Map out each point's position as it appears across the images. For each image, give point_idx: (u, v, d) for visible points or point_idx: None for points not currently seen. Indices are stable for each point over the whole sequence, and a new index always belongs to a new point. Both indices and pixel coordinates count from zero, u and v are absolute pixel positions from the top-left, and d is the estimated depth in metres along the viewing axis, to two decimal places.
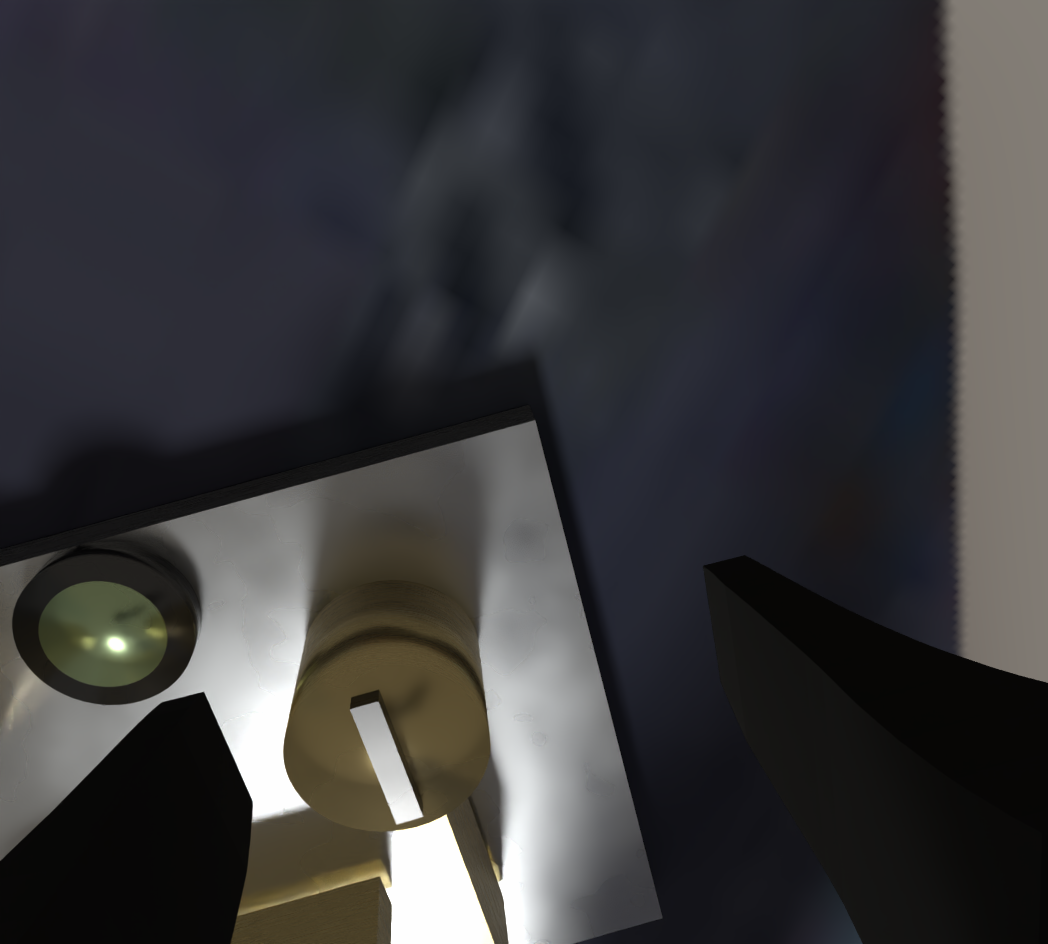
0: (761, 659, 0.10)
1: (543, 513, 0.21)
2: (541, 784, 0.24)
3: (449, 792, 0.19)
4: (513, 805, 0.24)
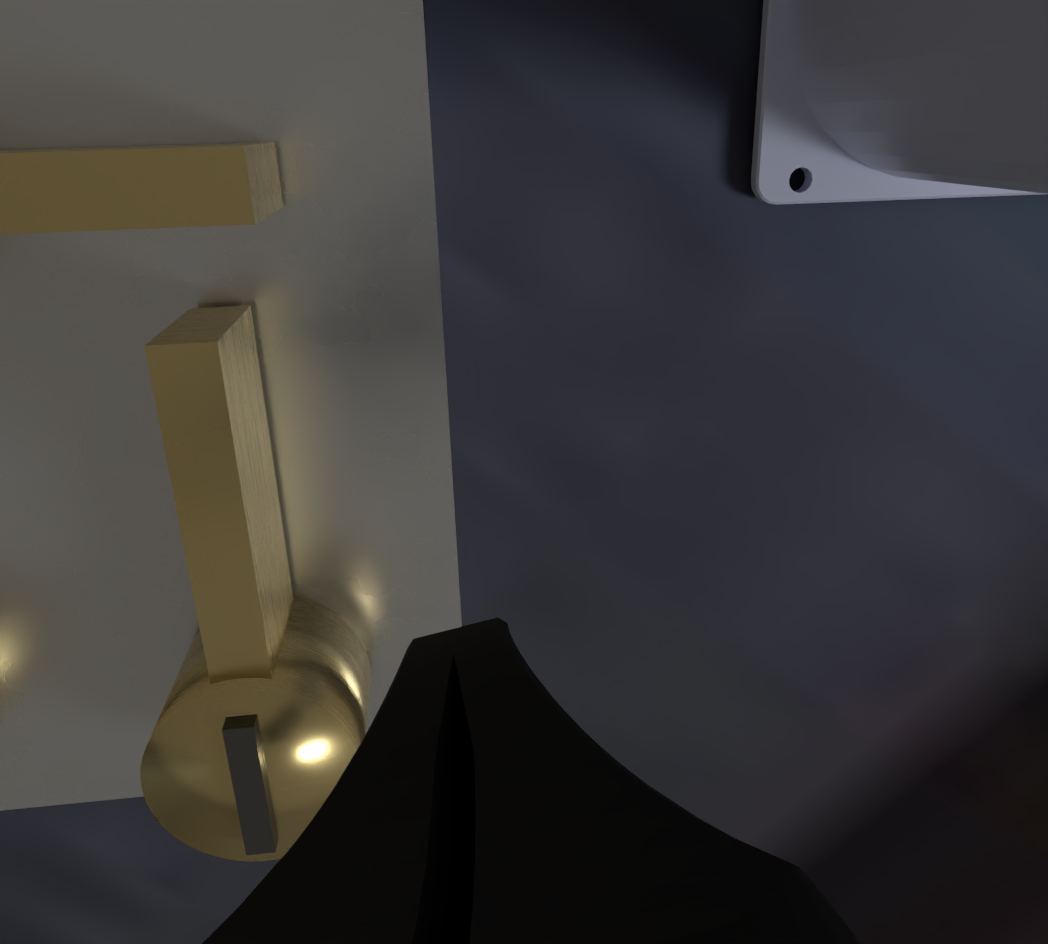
0: None
1: None
2: (70, 28, 0.16)
3: None
4: (107, 84, 0.16)
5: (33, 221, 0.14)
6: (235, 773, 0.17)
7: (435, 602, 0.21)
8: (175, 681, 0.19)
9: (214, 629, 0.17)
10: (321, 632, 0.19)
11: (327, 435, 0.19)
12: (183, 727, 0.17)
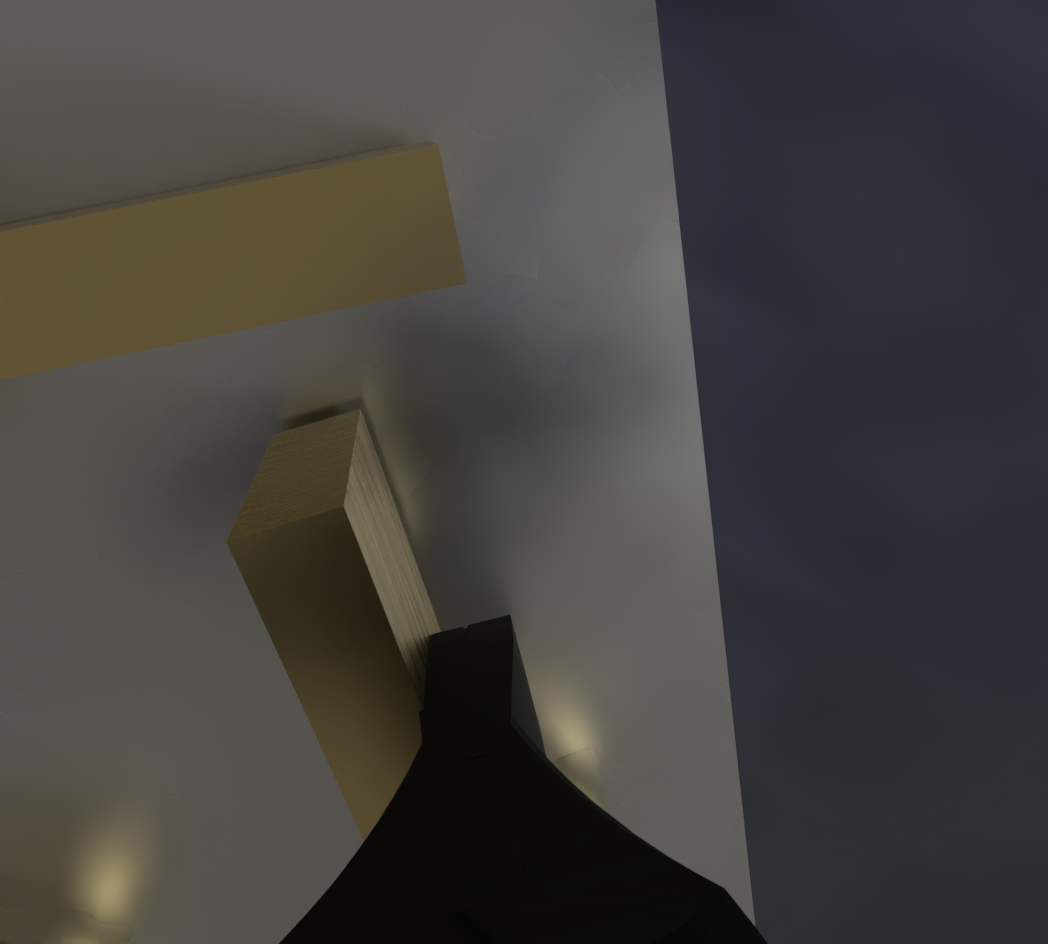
0: None
1: None
2: (88, 9, 0.10)
3: None
4: (157, 91, 0.10)
5: (84, 342, 0.08)
6: None
7: (702, 762, 0.15)
8: None
9: None
10: None
11: (537, 563, 0.13)
12: None
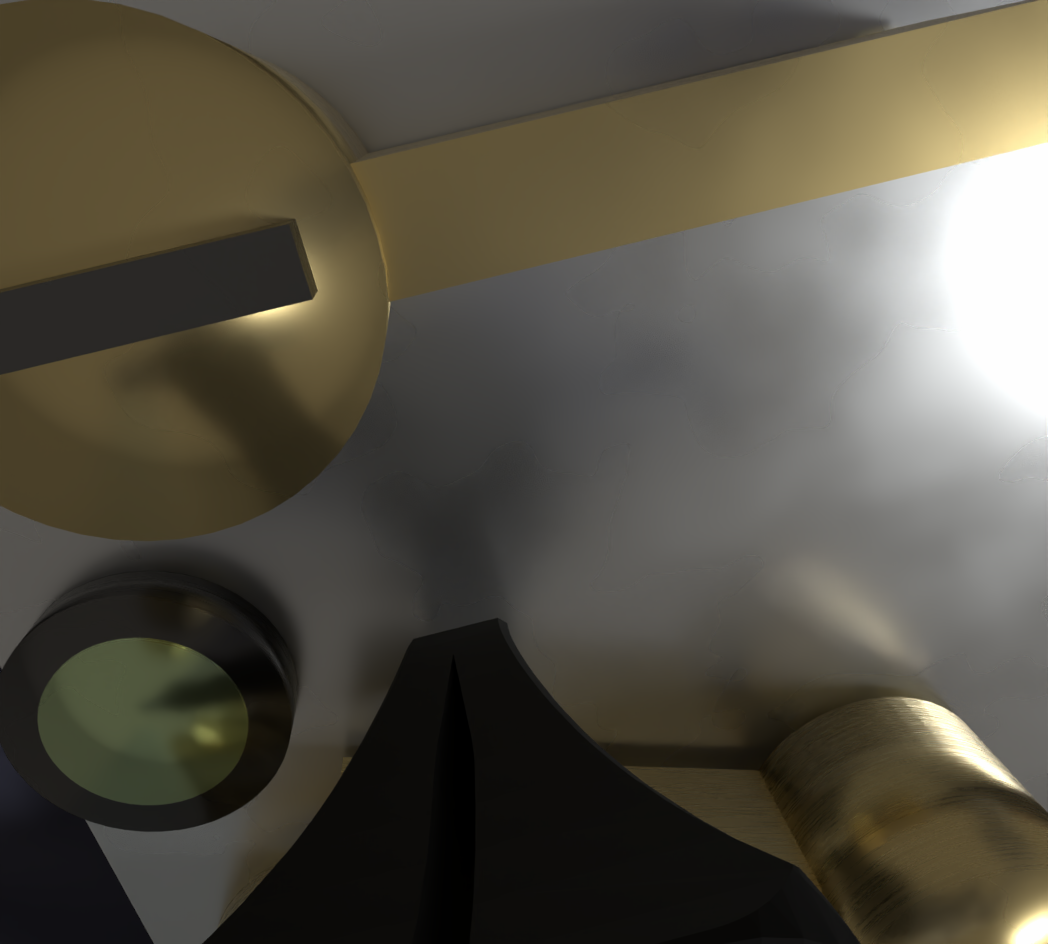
0: None
1: None
2: None
3: (257, 139, 0.07)
4: None
5: (758, 192, 0.08)
6: None
7: None
8: None
9: None
10: (815, 779, 0.13)
11: (943, 462, 0.13)
12: None
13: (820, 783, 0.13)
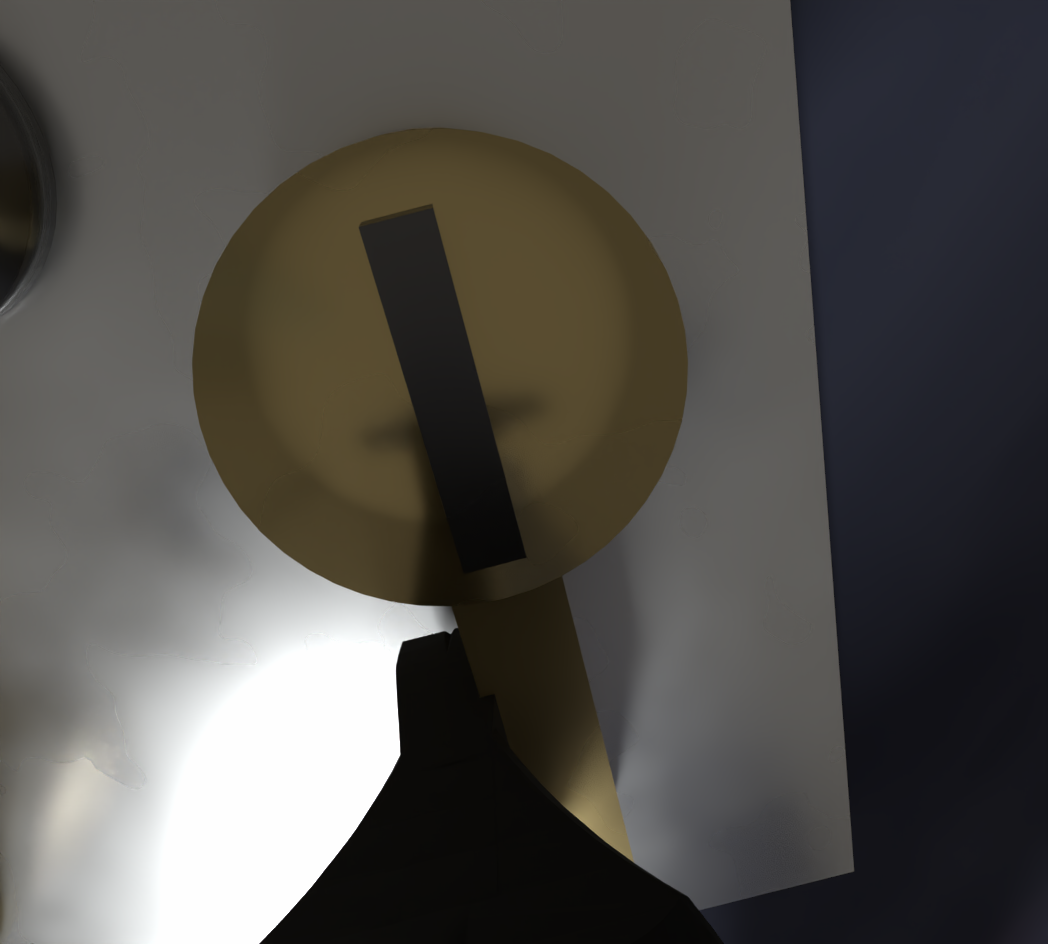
0: None
1: (761, 13, 0.10)
2: (686, 614, 0.14)
3: (583, 513, 0.08)
4: (633, 651, 0.14)
5: None
6: None
7: None
8: None
9: None
10: None
11: (256, 905, 0.15)
12: None
13: None
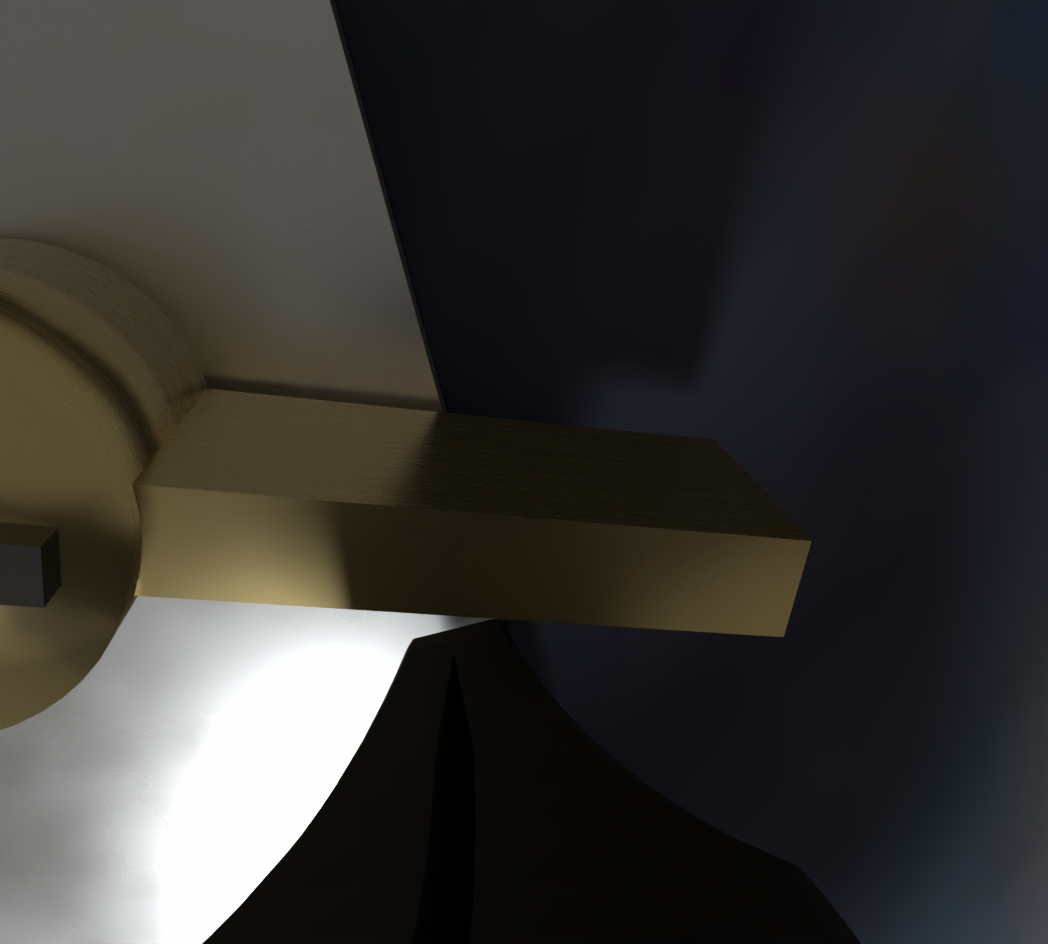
0: None
1: (329, 115, 0.10)
2: (362, 697, 0.13)
3: (43, 460, 0.07)
4: (313, 735, 0.14)
5: (483, 603, 0.09)
6: None
7: None
8: None
9: None
10: None
11: None
12: None
13: None
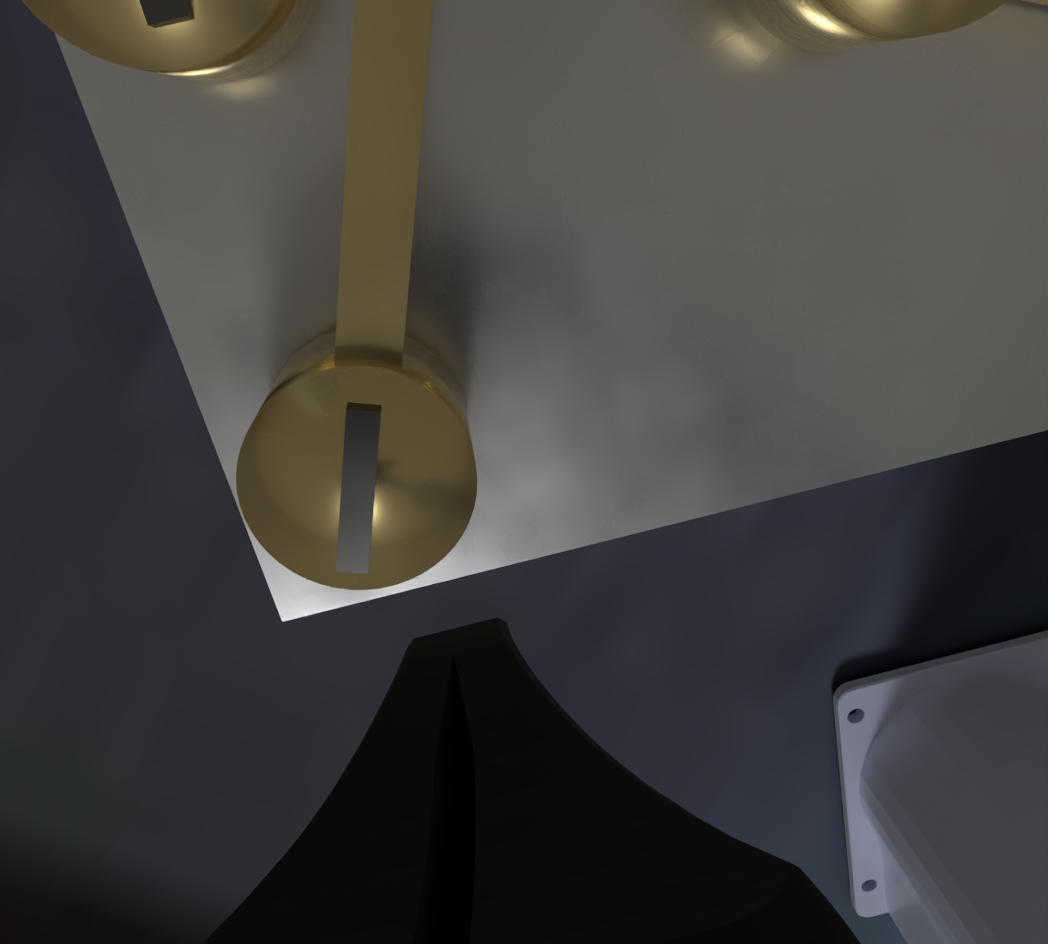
0: None
1: None
2: (963, 188, 0.19)
3: None
4: (923, 219, 0.19)
5: None
6: (348, 465, 0.15)
7: (474, 551, 0.21)
8: (276, 383, 0.17)
9: (353, 298, 0.15)
10: (435, 365, 0.18)
11: (636, 428, 0.20)
12: (299, 406, 0.15)
13: (438, 368, 0.18)
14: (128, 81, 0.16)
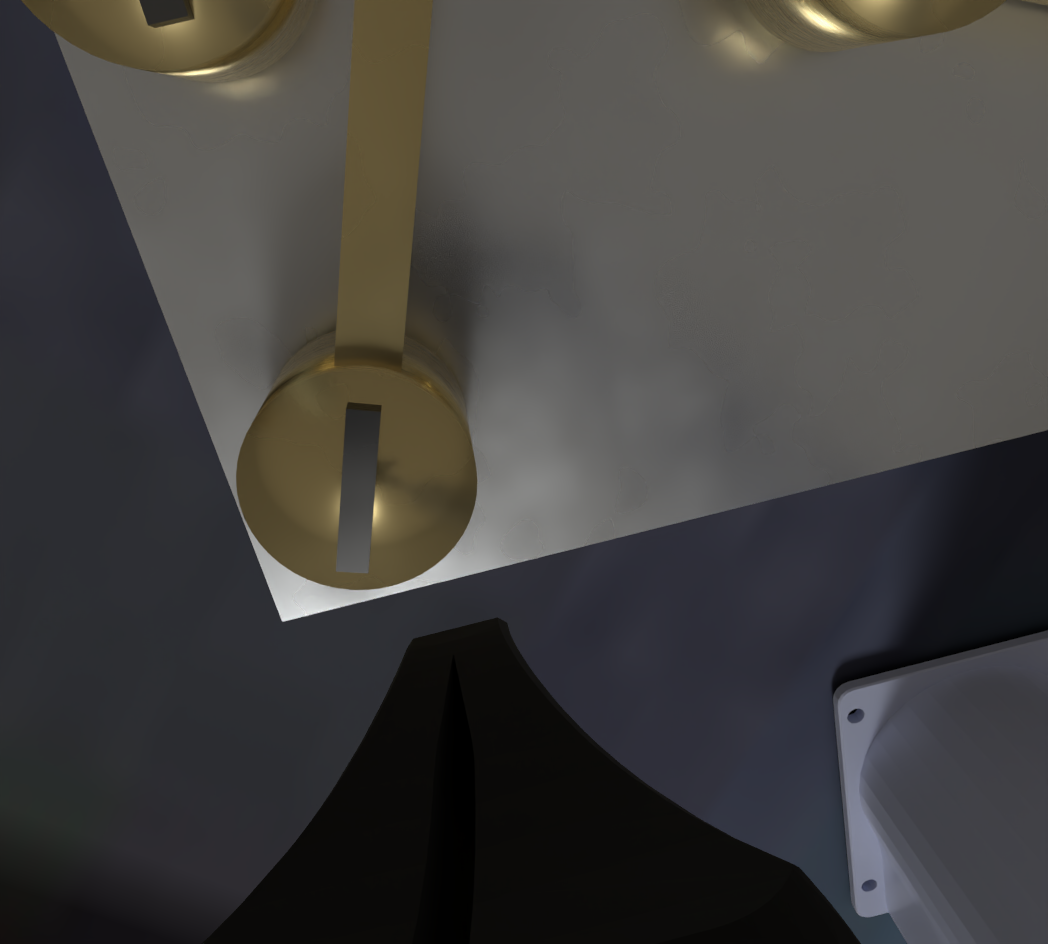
0: None
1: None
2: (963, 188, 0.19)
3: None
4: (923, 219, 0.19)
5: None
6: (348, 465, 0.15)
7: (474, 551, 0.21)
8: (276, 383, 0.17)
9: (353, 298, 0.15)
10: (435, 365, 0.18)
11: (636, 428, 0.20)
12: (299, 406, 0.15)
13: (438, 368, 0.18)
14: (128, 81, 0.16)
